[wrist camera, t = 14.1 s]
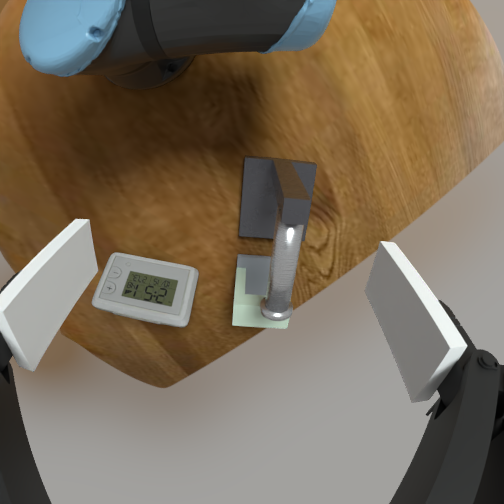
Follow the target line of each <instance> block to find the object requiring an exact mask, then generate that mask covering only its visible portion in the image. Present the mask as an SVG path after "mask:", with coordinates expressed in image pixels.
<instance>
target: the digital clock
mask: <svg viewBox="0 0 504 504" xmlns="http://www.w3.org/2000/svg"><path fill="white" fill-rule="evenodd" d="M198 275H199V272H198V270H197V269H195V268H193V267H190V266H185V265H181V264H175V263H170V262H165V261H160V260H154V259H149V258H144V257H139V256H134V255H129V254H123V253H113V254H112V255H111V256H110V258H109V260H108V262H107V264H106V267H105V269H104V272H103V274H102V276H101V279H100V281H99V284H98V286H97V289H96V291H95V294H94V296H93V300H92V304H93V306H94V307H95V308H97V309H100V310H104V311H108V312H112V313H114V314H116V315H120V316H125V317H129V318H133V319H138V320H142V321H147V322H151V323H156V324H165V325H170V326H175V327H185V326H187V324H188V321H189V317H190V313H191V308H192V303H193V299H194V294H195V289H196V284H197V280H198Z"/></svg>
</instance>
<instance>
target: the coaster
mask: <svg viewBox="0 0 504 504" xmlns="http://www.w3.org/2000/svg"><path fill="white" fill-rule="evenodd" d="M270 261H271V257H270V256H257V255H243V254H238V259H237V267H239V268H246V281H245V294H251V295H266V291H267V284H268V276H269V269H270Z"/></svg>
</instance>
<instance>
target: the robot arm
mask: <svg viewBox="0 0 504 504" xmlns="http://www.w3.org/2000/svg"><path fill="white" fill-rule="evenodd" d="M336 1H337V0H27V3H26V5H25V7H24V10H23V13H22V17H21V22H20V29H19V40H20V47H21V50H22V53H23V56H24V58H25V59H26V61H27V62H29V63H30V65H32V66H33V68H34V69H36V70H37V71H40V72H42V73H46V74H54V75H58V76H60V77H63V76H66V77H68V76H72V75H104V76H105V77H106V78H107V79H108V80H109V81H111V82H112V83H114V84H116V85H118V86H120V87H123V88H127V89H151V88H156V87H159V86H162V85H164V84H166V83H168V82H170V81H172V80H173V79H175V78H176V77H177V76H179V75H180V74H181V73H182V72H183V71H184V70H185V69H186V68H187V67H188V66H189V64H190V63H191V62H192V60H193V58H194V56H195V55H202V54H213V53H228V52H255V51H257V52H259V53H261V54H267V53H271V52H273V51H300V50H303V49H306V48H308V47H311V46H312V45H314V44H315V43H316V42H317V41H318V40H319V39H320V38H321V36H322V35H323V33H324V32H325V30H326V28H327V26H328V24H329V22H330V19H331V17H332V14H333V11H334V8H335V4H336ZM97 272H98V267H97V262H96V257H95V252H94V246H93V240H92V234H91V228H90V221H89V219H75V220H74V221H73V222H72V223H71V224H70V225H69V226H67V227H66V228H65V229H64V230H63V231H62V232H61V233H60V234H59V235H58V236H56V237H55V238H54V239H53V240H52V241H51V242H50V243H49V244H48V245H47V246H46V247H45V248H44V249H43V250H42V251H41V252H40V253H39V254H38V255H37V256H36V257H35V258H34V259H33V260H32V261H31V262H30V263H29V264H28V265H27V266H26V267H25V268H24V269H23V270H21V271H20V272H18V273H16V274H15V275H14V276H13V277H12V278H11V279H10V280H9V281H8V282H7V284H6V285H4V286H3V288H2V289H1V291H0V504H51V501H50V499H49V497H48V495H47V492H46V490H45V487H44V485H43V482H42V480H41V477H40V474H39V472H38V469H37V466H36V463H35V460H34V457H33V454H32V451H31V448H30V445H29V442H28V438H27V435H26V431H25V427H24V424H23V420H22V415H21V411H20V407H19V402H18V397H17V393H16V387H15V382H14V376H13V369H12V367H11V364H10V363H9V360H10V359H11V357H12V356H13V357H14V358H15V360H16V362H17V364H18V365H19V366H20V367H22V368H25V369H28V370H31V371H33V372H34V370H35V368H36V367H37V365H38V363H39V361H40V360H41V358H42V356H43V355H44V353H45V351H46V349H47V348H48V346H49V344H50V343H51V341H52V339H53V338H54V336H55V334H56V333H57V331H58V330H59V328H60V327H61V325H62V323H63V322H64V320H65V319H66V317H67V316H68V314H69V313H70V311H71V309H72V308H73V306H74V305H75V303H76V302H77V300H78V299H79V297H80V296H81V295H82V293H83V292H84V290H85V289H86V287H87V286H88V284H89V283H90V282H91V280H92V279H93V277H94V276H95V275H96V273H97ZM365 293H366V295H367V297H368V300H369V302H370V304H371V306H372V308H373V310H374V313H375V315H376V317H377V319H378V321H379V324H380V326H381V328H382V330H383V332H384V335H385V337H386V339H387V342H388V344H389V346H390V349H391V351H392V354H393V356H394V358H395V361H396V363H397V366H398V368H399V371H400V373H401V376H402V378H403V381H404V383H405V386H406V388H407V391H408V394H409V396H410V399H411V402H412V403H414V402H420V401H426V400H429V399H430V398H431V397H432V395H433V394H434V392H435V391H436V390H438V392H439V394H440V398H439V399H438V400H437V401H436V403H435V404H434V405H433V406H432V407H431V408H430V410H429V411H428V412H427V414H426V415H427V416H428V415H429V414H430V413H431V412H432V415H431V417H430V420H429V423H428V425H427V428H426V430H425V433H424V435H423V437H422V440H421V442H420V445H419V447H418V449H417V451H416V453H415V456H414V458H413V460H412V462H411V464H410V466H409V468H408V470H407V472H406V474H405V476H404V478H403V480H402V482H401V484H400V486H399V487H398V489H397V491H396V493H395V495H394V497H393V498H392V500H391V502H390V503H389V504H504V365H499V363H498V361H497V359H496V358H495V357H494V356H493V355H492V354H491V353H489V352H488V351H485V350H477V349H476V348H475V346H474V344H473V343H472V341H471V340H470V338H469V336H468V335H467V333H466V332H465V330H464V329H463V327H462V326H460V323H459V321H458V320H457V319H455V315H454V314H453V312H452V311H451V310H450V308H449V307H448V306H446V305H445V304H444V303H443V302H442V301H440V300H437V299H436V297H435V296H434V294H433V293H432V291H431V290H430V289H429V287H428V286H427V285H426V283H425V282H424V281H423V279H422V278H421V277H420V275H419V274H418V272H417V271H416V270H415V268H414V267H413V266H412V264H411V263H410V262H409V261H408V259H407V258H406V257H405V255H404V254H403V253H402V251H401V250H400V249H399V248H398V247H397V245H396V244H395V243H393V242H384V241H380V243H379V247H378V250H377V254H376V257H375V261H374V263H373V267H372V270H371V273H370V276H369V280H368V282H367V286H366V288H365Z"/></svg>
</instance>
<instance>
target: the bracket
mask: <svg viewBox="0 0 504 504" xmlns="http://www.w3.org/2000/svg"><path fill="white" fill-rule="evenodd" d="M245 281H246V268H239V267H237V270H236V282H235V294H234V306H233V322H232V325H234V326H248V327H265V328H285V329H287V327H288V322H289V318H288V319H287V320H284V321H272V320H269V319H267V318H265V317H264V316H263V315H262V314H261V313H260V303H261V300H262V299H263V298H265V297H266V295H251V294H245Z"/></svg>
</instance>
